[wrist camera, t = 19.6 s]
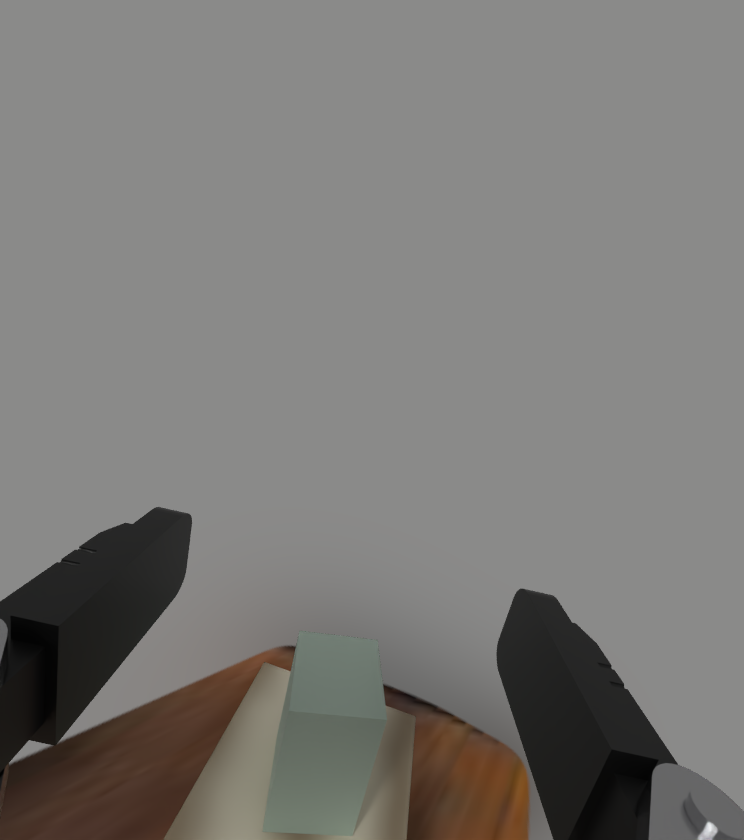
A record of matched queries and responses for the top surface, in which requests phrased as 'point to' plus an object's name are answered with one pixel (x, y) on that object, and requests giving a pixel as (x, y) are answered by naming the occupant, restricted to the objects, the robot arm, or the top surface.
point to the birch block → (252, 765)
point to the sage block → (326, 736)
